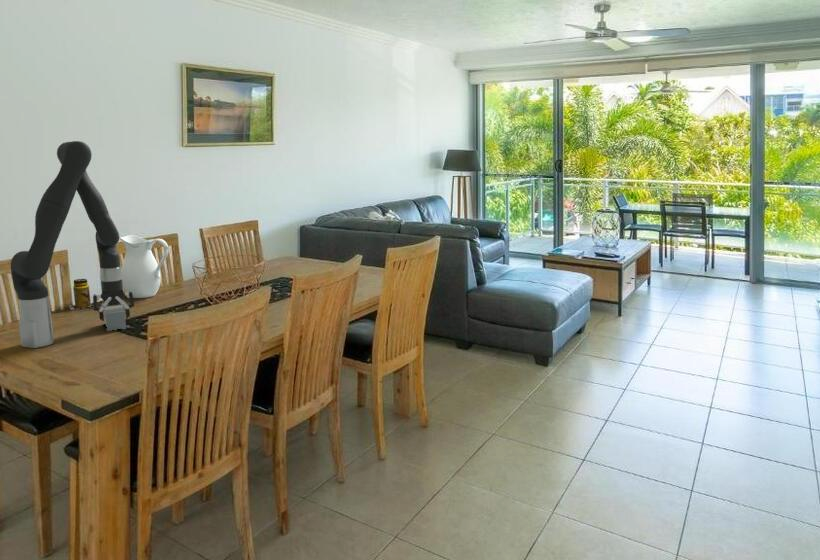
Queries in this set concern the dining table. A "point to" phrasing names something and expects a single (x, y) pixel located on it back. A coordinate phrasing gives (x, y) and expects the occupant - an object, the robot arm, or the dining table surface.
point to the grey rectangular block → (115, 317)
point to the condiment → (81, 294)
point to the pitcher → (141, 266)
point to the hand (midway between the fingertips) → (115, 319)
